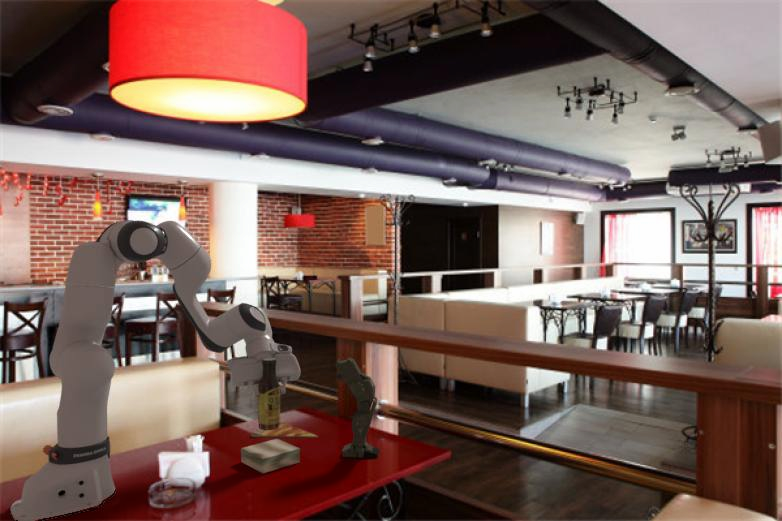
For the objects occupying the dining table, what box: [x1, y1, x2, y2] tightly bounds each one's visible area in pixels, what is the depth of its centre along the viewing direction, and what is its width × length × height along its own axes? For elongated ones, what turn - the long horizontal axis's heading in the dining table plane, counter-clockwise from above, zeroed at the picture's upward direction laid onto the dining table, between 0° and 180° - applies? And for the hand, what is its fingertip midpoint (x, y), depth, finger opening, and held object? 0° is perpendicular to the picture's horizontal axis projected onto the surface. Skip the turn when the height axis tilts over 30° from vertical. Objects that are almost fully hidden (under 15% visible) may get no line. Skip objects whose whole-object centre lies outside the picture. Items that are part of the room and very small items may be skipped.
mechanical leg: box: [335, 357, 381, 459], centre depth 173 cm, size 14×7×30 cm, turn 84°
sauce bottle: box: [257, 358, 281, 430], centre depth 167 cm, size 6×6×20 cm
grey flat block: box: [240, 438, 301, 474], centre depth 167 cm, size 12×12×4 cm
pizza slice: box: [250, 418, 319, 438], centre depth 192 cm, size 16×22×2 cm
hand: (269, 394), depth 167 cm, fingers closed on sauce bottle, 6 cm apart
